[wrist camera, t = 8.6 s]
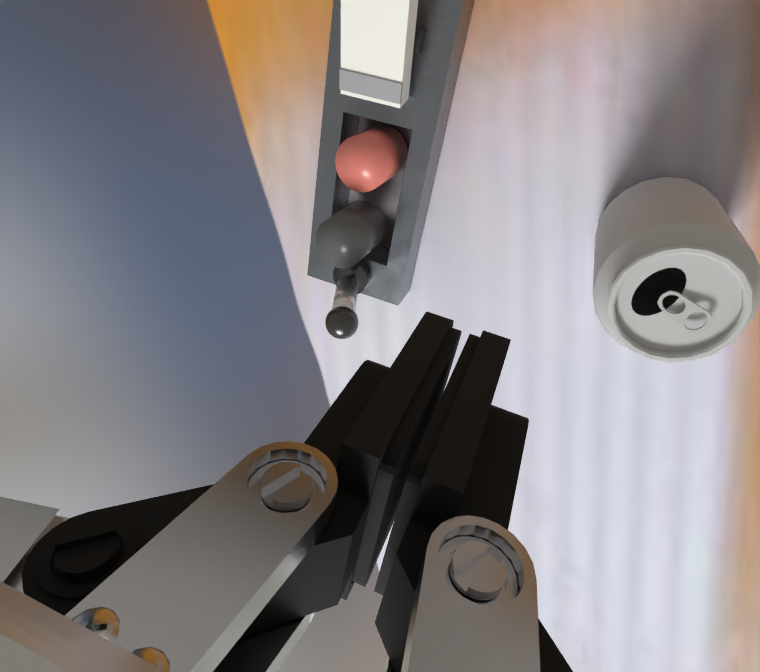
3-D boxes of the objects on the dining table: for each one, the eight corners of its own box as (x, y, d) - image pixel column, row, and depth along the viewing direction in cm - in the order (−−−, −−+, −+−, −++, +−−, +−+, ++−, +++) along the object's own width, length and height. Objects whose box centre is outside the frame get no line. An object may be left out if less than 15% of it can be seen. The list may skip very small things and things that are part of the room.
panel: (358, -51, 33) (331, -60, 29) (480, -28, 31) (466, -36, 28) (323, 261, 45) (301, 279, 41) (409, 290, 43) (393, 311, 40)
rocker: (352, -48, 28) (339, -41, 27) (422, -35, 27) (411, -28, 26) (350, 84, 33) (339, 94, 32) (408, 98, 32) (399, 109, 31)
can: (650, 150, 32) (670, 200, 22) (753, 216, 32) (817, 296, 22) (572, 244, 37) (560, 320, 27) (661, 302, 36) (681, 401, 27)
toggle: (335, 265, 39) (325, 315, 33) (364, 270, 39) (359, 320, 33) (332, 290, 40) (322, 342, 34) (360, 295, 40) (355, 347, 34)
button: (364, 120, 37) (338, 129, 33) (411, 132, 36) (390, 143, 33) (357, 170, 39) (332, 184, 35) (402, 182, 38) (380, 198, 35)
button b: (345, 194, 38) (318, 211, 35) (390, 207, 37) (367, 226, 34) (339, 239, 40) (313, 259, 37) (382, 252, 39) (359, 275, 36)
